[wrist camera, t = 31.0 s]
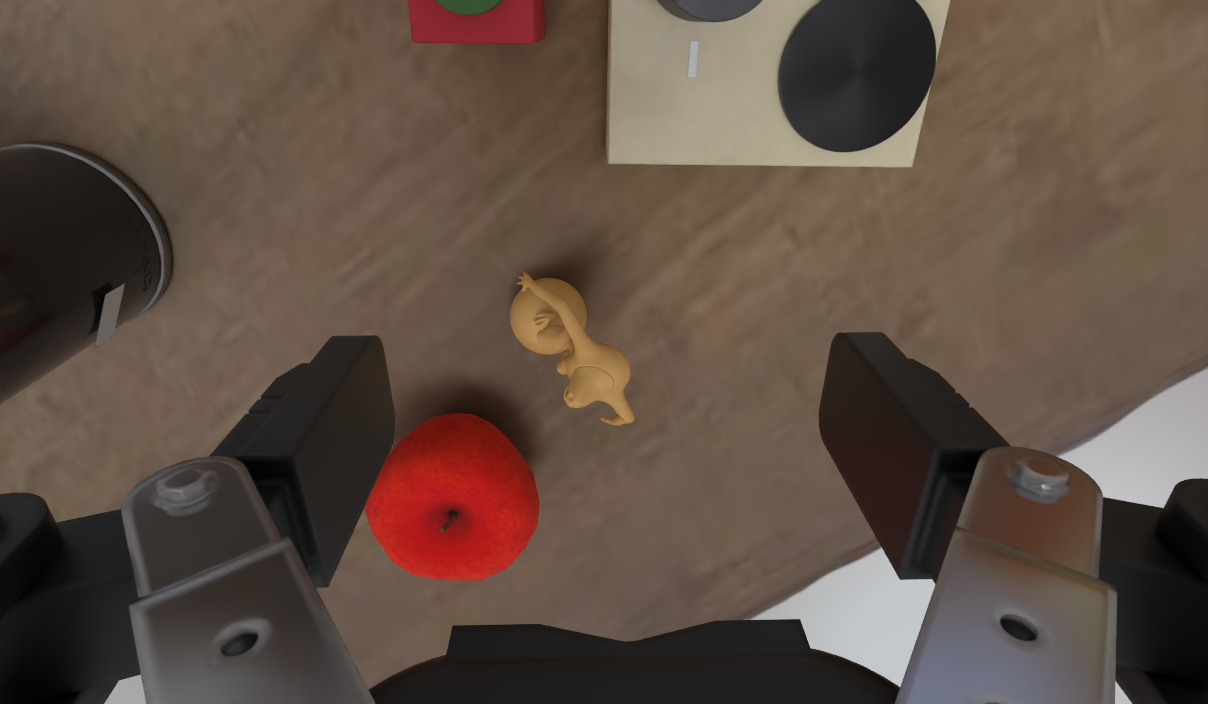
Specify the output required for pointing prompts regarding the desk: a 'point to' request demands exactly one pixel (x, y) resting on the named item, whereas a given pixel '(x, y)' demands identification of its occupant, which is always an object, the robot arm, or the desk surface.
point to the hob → (720, 90)
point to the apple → (454, 500)
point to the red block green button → (477, 21)
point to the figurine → (571, 344)
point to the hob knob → (708, 9)
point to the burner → (856, 71)
